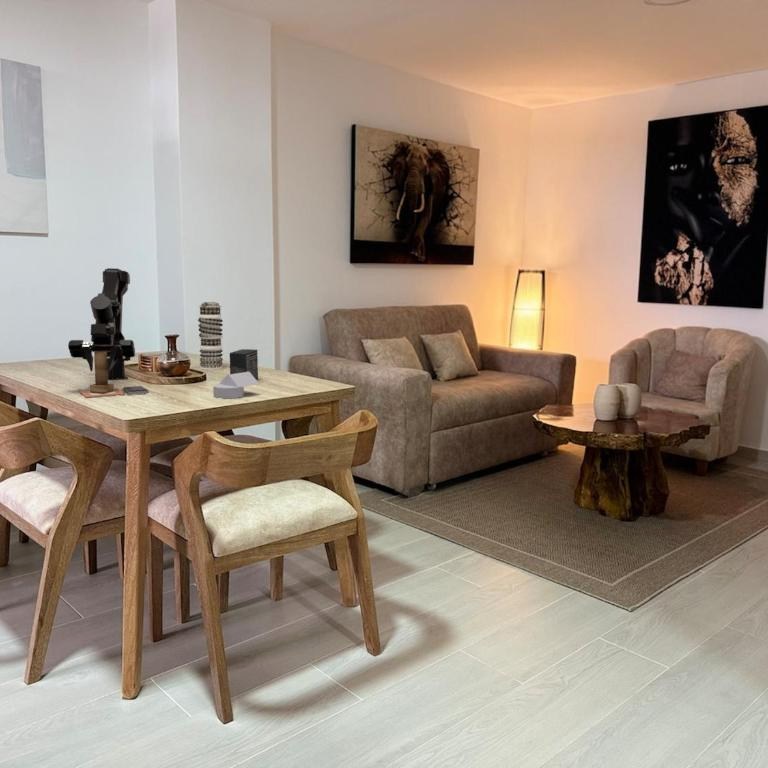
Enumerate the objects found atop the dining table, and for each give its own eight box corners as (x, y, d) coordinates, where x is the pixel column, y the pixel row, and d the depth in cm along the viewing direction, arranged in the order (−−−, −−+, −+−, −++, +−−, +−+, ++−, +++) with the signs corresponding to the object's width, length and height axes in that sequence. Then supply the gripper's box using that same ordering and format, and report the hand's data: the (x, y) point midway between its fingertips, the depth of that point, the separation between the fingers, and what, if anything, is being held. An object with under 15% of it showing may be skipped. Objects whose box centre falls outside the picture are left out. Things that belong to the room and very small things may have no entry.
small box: (241, 378, 256) (240, 348, 255) (258, 379, 255) (258, 349, 253) (229, 382, 246) (228, 352, 244) (247, 383, 245) (246, 353, 243)
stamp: (100, 390, 226) (98, 350, 224) (114, 391, 224) (112, 351, 223) (89, 392, 221) (88, 352, 219) (103, 393, 220) (102, 353, 218)
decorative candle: (198, 370, 273) (197, 303, 268) (199, 366, 281) (197, 301, 277) (223, 369, 275) (222, 303, 271) (223, 366, 284) (222, 301, 279)
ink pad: (122, 391, 227) (122, 387, 227) (142, 389, 230) (141, 385, 230) (128, 395, 221) (128, 391, 220) (148, 393, 224) (148, 389, 224)
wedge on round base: (239, 391, 232) (207, 396, 221) (239, 370, 231) (206, 374, 220) (259, 394, 226) (227, 400, 216) (259, 373, 225) (226, 377, 215)
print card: (79, 392, 224) (79, 390, 224) (116, 389, 230) (116, 388, 230) (86, 398, 215) (86, 396, 215) (124, 395, 221) (124, 393, 221)
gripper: (67, 313, 220) (61, 354, 212) (132, 313, 224) (128, 354, 215) (74, 336, 229) (68, 376, 220) (136, 336, 233) (133, 376, 224)
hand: (99, 370), depth 220 cm, fingers open, 5 cm apart
